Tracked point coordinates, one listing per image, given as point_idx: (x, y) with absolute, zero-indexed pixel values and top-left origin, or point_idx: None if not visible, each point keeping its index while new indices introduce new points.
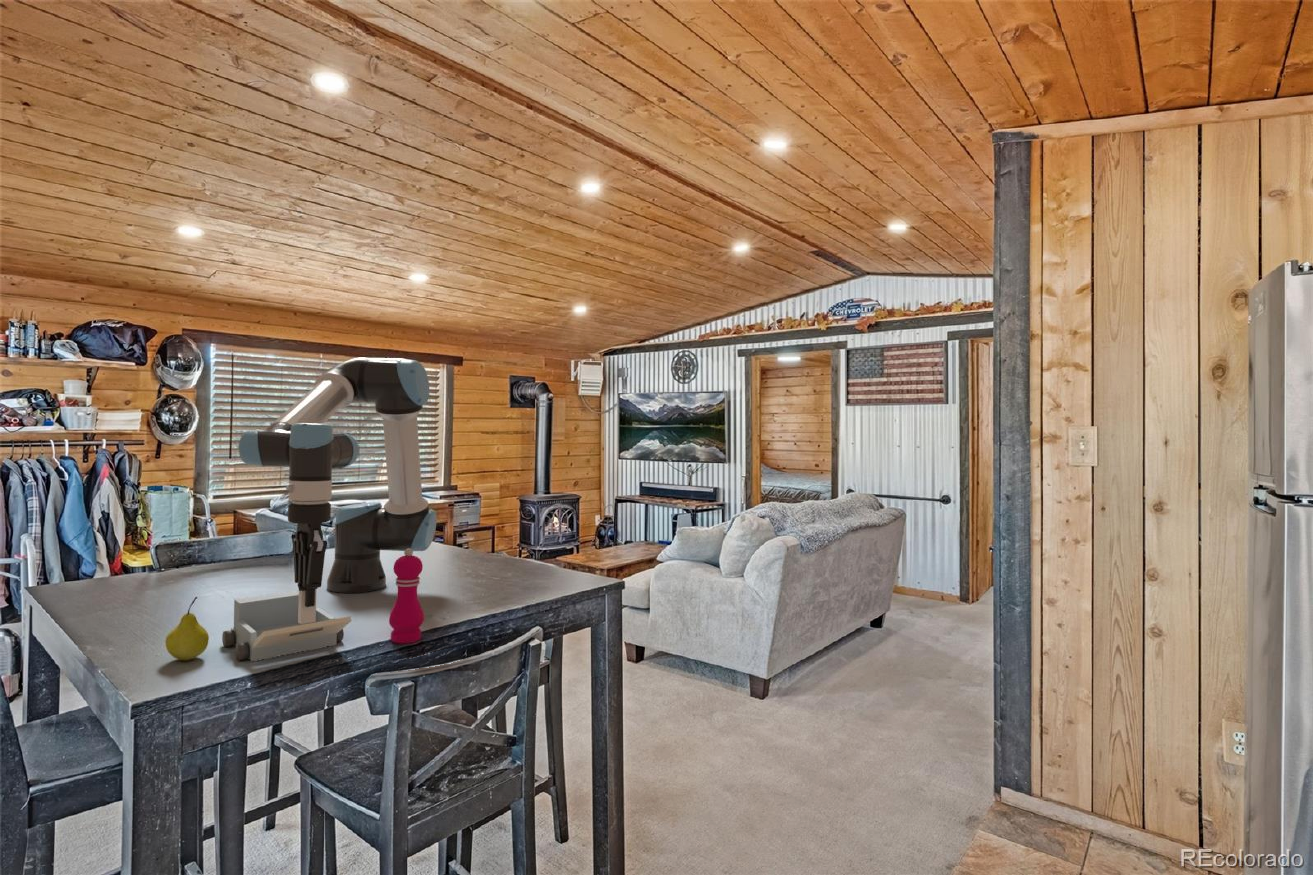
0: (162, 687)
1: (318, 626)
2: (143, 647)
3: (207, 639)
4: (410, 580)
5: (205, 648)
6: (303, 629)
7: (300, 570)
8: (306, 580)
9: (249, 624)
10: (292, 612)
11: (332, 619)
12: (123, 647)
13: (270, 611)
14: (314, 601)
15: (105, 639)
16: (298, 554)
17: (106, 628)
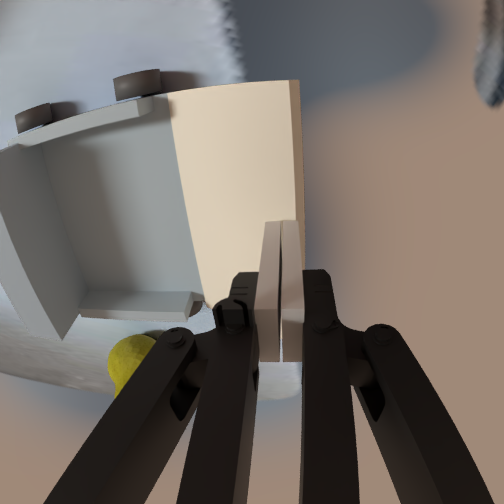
0: (266, 379)
1: (303, 204)
2: (80, 359)
3: (146, 352)
4: None
5: (150, 341)
6: (304, 249)
7: (252, 444)
8: (362, 406)
9: (78, 286)
10: (36, 204)
11: (294, 156)
12: (76, 370)
13: (48, 261)
14: (331, 284)
15: (47, 371)
16: (137, 500)
17: (14, 359)
